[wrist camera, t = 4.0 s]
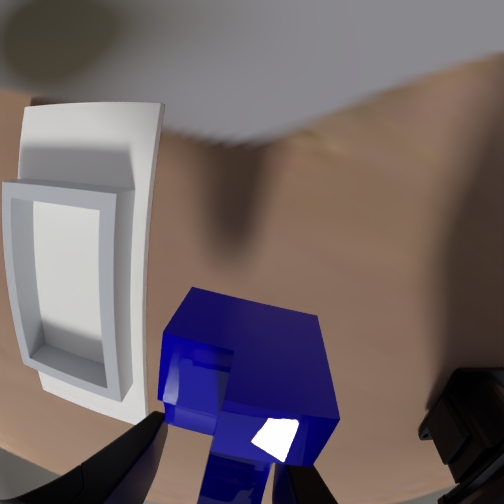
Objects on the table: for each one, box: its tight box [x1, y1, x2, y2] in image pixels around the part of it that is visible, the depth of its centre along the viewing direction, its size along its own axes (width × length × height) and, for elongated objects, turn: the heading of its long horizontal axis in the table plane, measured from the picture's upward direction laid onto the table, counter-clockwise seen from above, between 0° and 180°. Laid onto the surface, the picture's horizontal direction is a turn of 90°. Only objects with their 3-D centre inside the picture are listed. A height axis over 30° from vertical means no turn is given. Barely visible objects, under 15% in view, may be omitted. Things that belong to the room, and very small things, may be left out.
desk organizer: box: [2, 102, 165, 425], centre depth 15 cm, size 9×20×3 cm, turn 171°
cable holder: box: [157, 287, 340, 504], centre depth 8 cm, size 8×4×4 cm, turn 168°
